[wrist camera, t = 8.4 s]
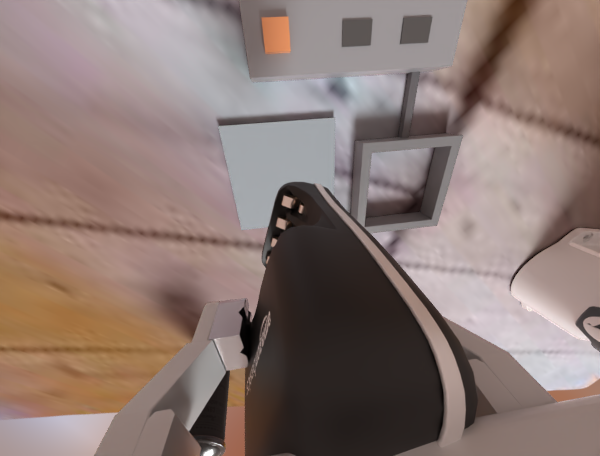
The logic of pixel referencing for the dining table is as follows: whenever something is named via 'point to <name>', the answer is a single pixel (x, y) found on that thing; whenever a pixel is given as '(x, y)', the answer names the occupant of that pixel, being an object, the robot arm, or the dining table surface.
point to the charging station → (363, 72)
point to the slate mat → (276, 162)
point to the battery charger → (346, 343)
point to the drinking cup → (213, 421)
